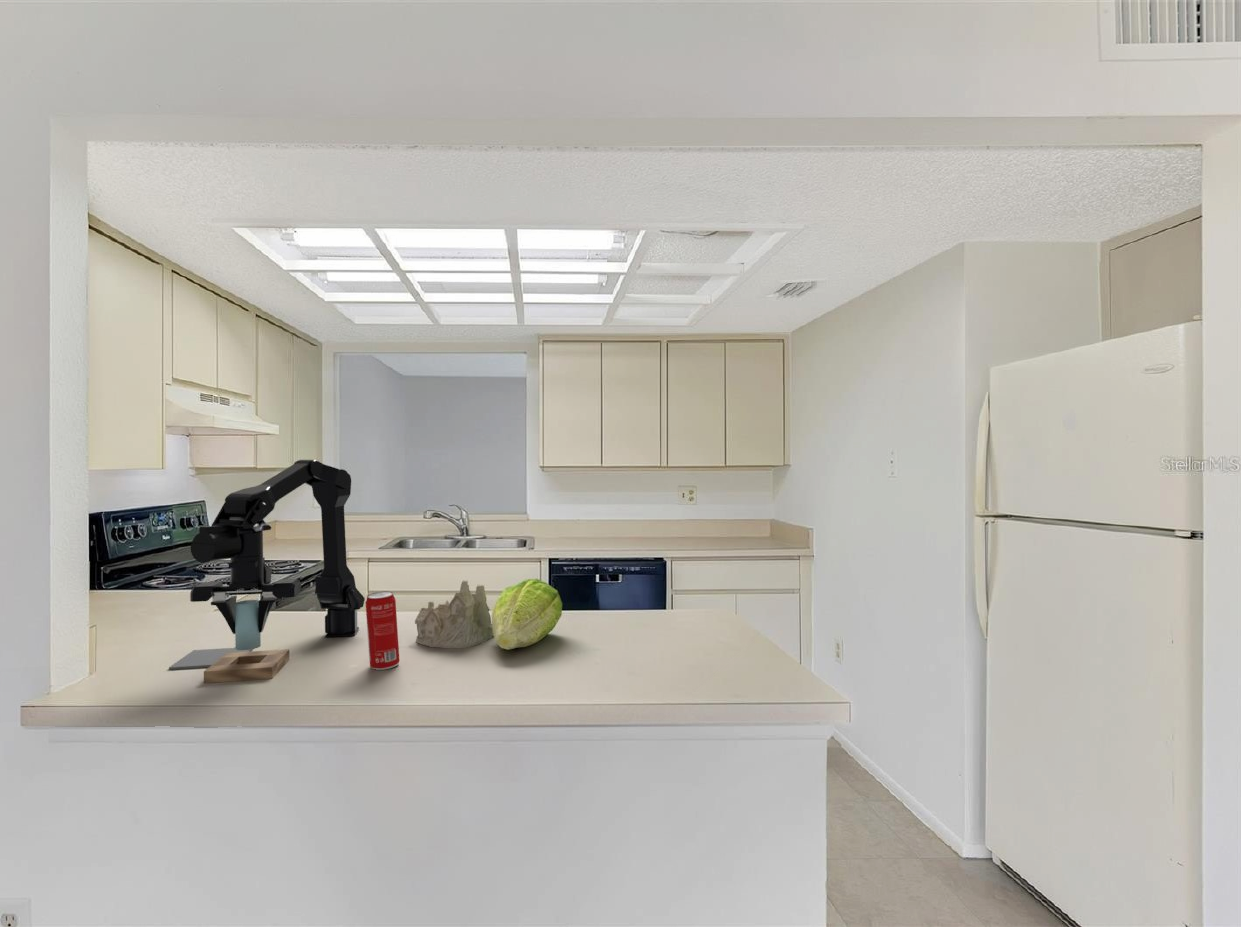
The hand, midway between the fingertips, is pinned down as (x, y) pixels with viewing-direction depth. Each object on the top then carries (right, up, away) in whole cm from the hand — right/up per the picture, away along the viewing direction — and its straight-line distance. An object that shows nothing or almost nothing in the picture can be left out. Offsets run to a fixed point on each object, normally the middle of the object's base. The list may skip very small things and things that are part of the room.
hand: (248, 632), depth 134 cm
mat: (-12, -8, +8) cm, 16 cm away
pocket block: (0, -8, 0) cm, 8 cm away
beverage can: (+26, -8, +3) cm, 27 cm away
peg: (0, -3, 0) cm, 3 cm away
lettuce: (+52, -7, +18) cm, 56 cm away
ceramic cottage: (+36, -8, +23) cm, 44 cm away
